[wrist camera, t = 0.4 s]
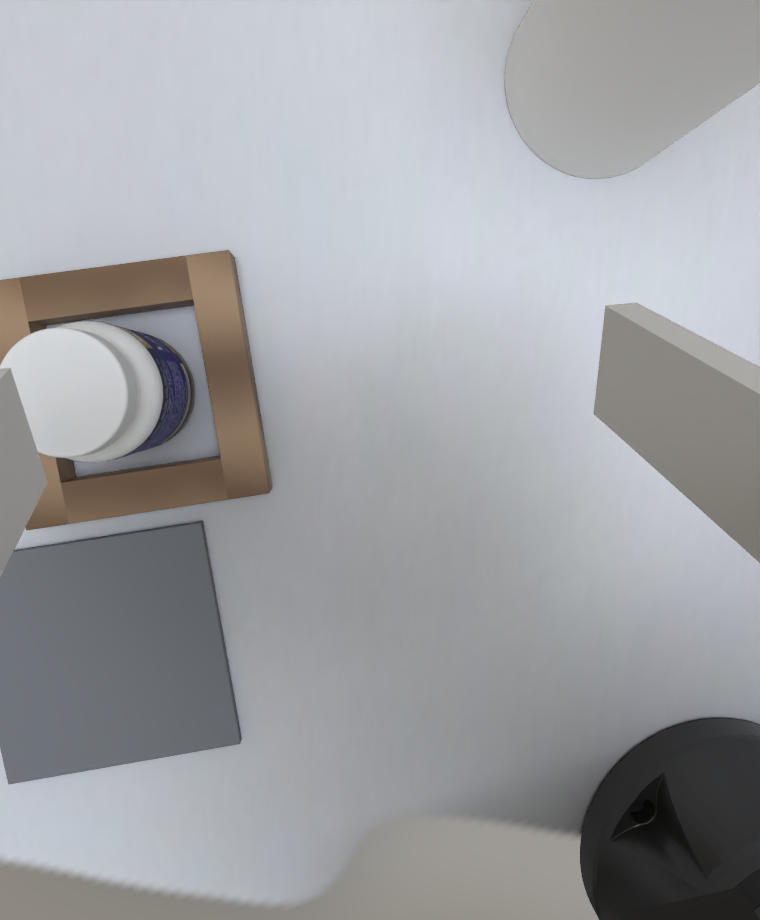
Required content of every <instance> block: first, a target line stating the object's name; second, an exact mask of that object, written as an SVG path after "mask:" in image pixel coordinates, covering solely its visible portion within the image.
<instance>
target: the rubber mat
mask: <svg viewBox="0 0 760 920" xmlns="http://www.w3.org/2000/svg"><path fill="white" fill-rule="evenodd" d="M240 743H241V734H240V728H239V723H238V717H237V712H236V706H235V700H234V695H233V689H232V684H231V678H230V672H229V667H228V661H227V656H226V650H225V644H224V639H223V633H222V628H221V622H220V616H219V611H218V605H217V600H216V594H215V588H214V583H213V577H212V571H211V566H210V560H209V555H208V549H207V543H206V538H205V532H204V527H203V521H200V522H193V523H187V524H181V525H174V526H168V527H161V528H155V529H148V530H142V531H135V532H129V533H123V534H116V535H110V536H103V537H97V538H90V539H84V540H77V541H71V542H65V543H58V544H52V545H45V546H39V547H32V548H26V549H19V550H14V551H13V553H12V555H11V557H10V559H9V561H8V563H7V565H6V567H5V569H4V571H3V573H2V575H1V577H0V748H1V753H2V757H3V762H4V766H5V771H6V775H7V780H8V784H14V783H19V782H25V781H31V780H37V779H42V778H48V777H54V776H59V775H65V774H71V773H77V772H82V771H88V770H94V769H99V768H105V767H111V766H117V765H122V764H128V763H134V762H139V761H145V760H151V759H157V758H162V757H168V756H174V755H179V754H185V753H191V752H197V751H202V750H208V749H214V748H219V747H225V746H231V745H237V744H240Z"/></svg>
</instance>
